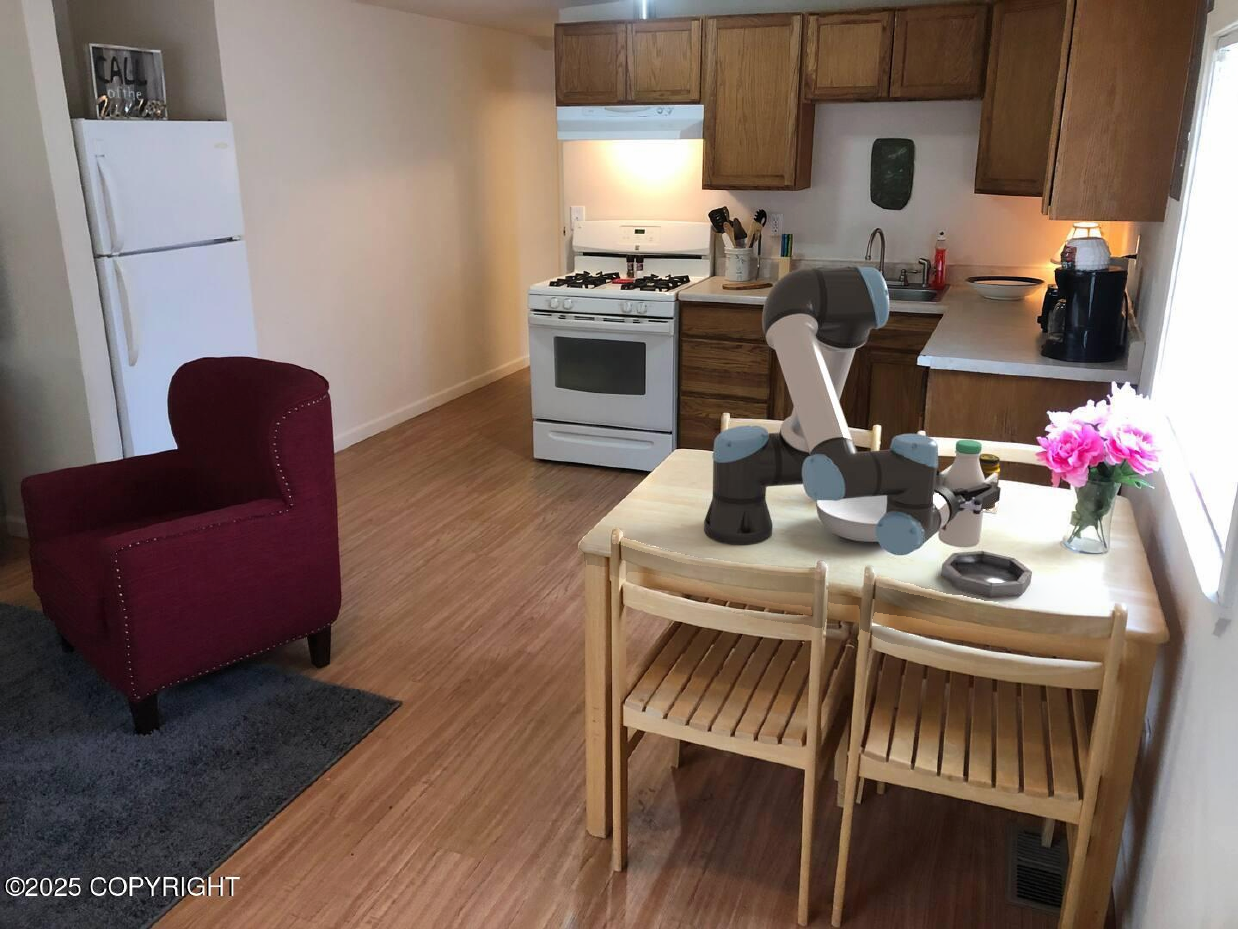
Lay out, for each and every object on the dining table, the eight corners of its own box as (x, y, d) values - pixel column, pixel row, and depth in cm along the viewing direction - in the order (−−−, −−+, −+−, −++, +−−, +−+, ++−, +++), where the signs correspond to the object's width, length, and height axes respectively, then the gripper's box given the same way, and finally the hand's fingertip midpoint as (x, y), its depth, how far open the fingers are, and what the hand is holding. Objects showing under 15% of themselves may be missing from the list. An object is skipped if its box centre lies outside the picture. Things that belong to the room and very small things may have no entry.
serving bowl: (892, 561, 198) (895, 530, 196) (799, 539, 209) (800, 509, 207) (924, 528, 214) (927, 500, 212) (836, 509, 225) (838, 482, 223)
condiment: (998, 501, 229) (1004, 454, 225) (996, 514, 222) (1002, 465, 218) (966, 497, 232) (971, 450, 228) (963, 509, 224) (968, 461, 221)
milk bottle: (986, 540, 186) (997, 441, 180) (969, 552, 181) (980, 451, 175) (948, 530, 191) (958, 434, 185) (930, 541, 186) (940, 443, 180)
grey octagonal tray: (933, 583, 188) (934, 571, 187) (958, 556, 199) (960, 545, 198) (1014, 604, 179) (1016, 592, 178) (1036, 575, 190) (1038, 563, 190)
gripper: (873, 517, 176) (921, 483, 193) (985, 543, 164) (1025, 504, 181) (876, 478, 174) (924, 448, 191) (990, 502, 162) (1030, 467, 179)
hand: (973, 475), depth 186 cm, fingers closed on milk bottle, 7 cm apart
